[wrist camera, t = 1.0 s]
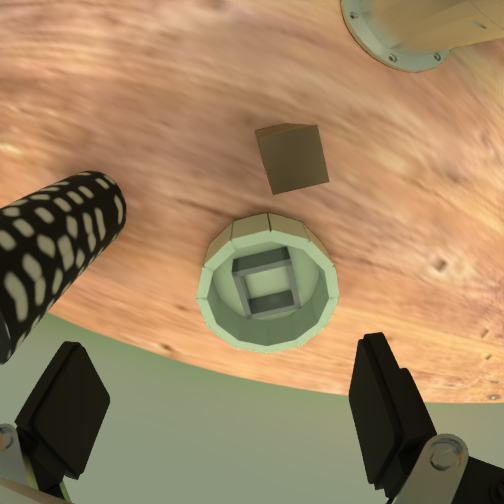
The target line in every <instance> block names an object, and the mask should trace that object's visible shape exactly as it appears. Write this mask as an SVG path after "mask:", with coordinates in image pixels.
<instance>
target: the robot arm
mask: <svg viewBox="0 0 504 504" xmlns="http://www.w3.org/2000/svg"><path fill="white" fill-rule="evenodd" d="M341 9H342V14H343V17H344V20H345V23H346V25H347V27H348V29H349V31H350V33H351V34H352V35H353V37H354V38H355V40H356V41H357V42H358V43H359V44H360V46H361V47H362V48H363V49H364V50H365V51H366V52H368V53H369V54H370V55H371V56H372V57H374V58H375V59H376V60H378V61H380V62H381V63H383V64H385V65H387V66H389V67H392V68H394V69H397V70H401V71H405V72H420V71H426V70H429V69H433V68H435V67H436V66H438V65H440V64H441V63H442V62H443V61H444V60H445V59H446V57H447V55H448V54H449V52H450V49H452V48H456V47H461V46H465V45H470V44H474V43H479V42H484V41H490V40H495V39H501V38H504V0H341ZM350 16H352V17H353V18H354V19H352V18H351V17H350ZM389 57H390V58H391V61H390V59H389ZM349 402H350V406H351V410H352V415H353V419H354V422H355V427H356V431H357V435H358V439H359V443H360V447H361V451H362V456H363V461H364V465H365V470H366V474H367V479H368V482H369V483H370V484H373V483H374V486H375V490H379V489H384V491H385V496H386V497H388V499H387V501H386V503H385V504H504V469H502V468H500V467H497V466H494V465H491V464H489V463H486V462H483V461H481V460H478V459H475V458H473V457H470V456H469V454H468V448H467V446H466V444H465V442H463V440H462V439H460V438H459V437H457V436H455V435H452V434H439V435H437V432H436V430H435V428H434V425H433V423H432V421H431V418H430V416H429V413H428V411H427V409H426V406H425V404H424V402H423V400H422V397H421V395H420V393H419V391H418V389H417V386H416V384H415V382H414V380H413V378H412V376H411V373H410V372H409V370H408V369H407V368H399V366H398V364H397V362H396V359H395V357H394V355H393V353H392V351H391V349H390V346H389V344H388V342H387V340H386V338H385V336H384V334H383V333H382V332H378V333H371V334H365V335H364V338H363V339H360V340H359V341H358V346H357V352H356V358H355V363H354V369H353V374H352V379H351V384H350V389H349ZM109 404H110V397H109V394H108V392H107V390H106V388H105V387H104V385H103V383H102V381H101V379H100V377H99V375H98V374H97V372H96V370H95V368H94V366H93V364H92V362H91V360H90V358H89V356H88V354H87V352H86V349H85V348H84V347H82V346H81V344H80V343H79V342H69V341H65V342H64V343H63V344H62V345H61V347H60V348H59V349H58V351H57V353H56V354H55V356H54V357H53V359H52V360H51V362H50V363H49V365H48V366H47V368H46V369H45V371H44V373H43V374H42V376H41V377H40V379H39V381H38V382H37V384H36V386H35V388H34V389H33V390H32V392H31V394H30V395H29V397H28V399H27V401H26V402H25V404H24V406H23V407H22V409H21V411H20V413H19V415H18V416H17V418H16V420H15V423H16V425H17V428H16V429H15V428H14V427H13V426H12V425H10V424H0V504H74V503H72V502H71V499H70V497H69V494H68V492H67V489H66V487H65V484H64V482H63V477H64V475H65V476H66V477H69V478H72V479H76V480H78V478H79V476H80V474H82V473H83V472H84V470H85V467H86V464H87V461H88V459H89V456H90V453H91V450H92V448H93V445H94V442H95V440H96V437H97V434H98V432H99V429H100V427H101V424H102V422H103V419H104V416H105V414H106V411H107V409H108V406H109Z"/></svg>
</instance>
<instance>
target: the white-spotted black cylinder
mask: <svg viewBox="0 0 504 504" xmlns="http://www.w3.org/2000/svg"><path fill="white" fill-rule="evenodd" d="M125 220H126V205H125V201H124V197H123V195H122V193H121V190H120V189H119V187H118V186H117V185H116V183H115V182H114V181H113V180H112V179H111V178H109V177H108V176H106V175H105V174H102V173H100V172H96V171H85V172H81V173H78V174H76V175H73V176H71V177H68V178H66V179H64V180H61V181H59V182H56V183H54V184H52V185H49V186H47V187H45V188H43V189H40V190H38V191H36V192H34V193H32V194H29V195H27V196H25V197H23V198H21V199H19V200H17V201H15V202H13V203H11V204H9V205H7V206H5V207H3V208H1V209H0V365H3V364H4V363H6V362H7V361H8V360H9V359H10V357H11V356H12V355H13V353H14V352H15V351H16V349H17V348H18V347H19V346H20V344H21V343H22V342H23V341H24V339H25V338H26V337H27V336H28V334H29V333H30V332H31V331H32V329H33V328H34V327H35V326H36V324H37V323H38V322H39V321H40V320H41V318H42V317H43V316H44V315H45V314H46V313H47V311H48V310H49V309H50V308H51V307H52V306H53V304H54V303H55V302H56V301H57V300H58V299H59V298H60V296H61V295H62V294H63V293H64V292H65V291H66V290H67V289H68V288H69V286H70V285H71V284H72V283H73V282H74V281H75V280H76V279H77V278H78V277H79V276H80V274H81V273H82V272H83V271H84V270H85V269H86V268H87V267H88V266H89V265H90V264H91V263H92V262H93V261H94V260H95V259H96V258H97V257H98V256H99V255H100V254H101V253H102V251H103V250H104V249H105V248H106V247H107V246H108V245H109V244H110V243H111V242H112V241H113V240H114V239H115V238H116V237H117V236H118V235H119V234H120V232H121V231H122V229H123V227H124V223H125Z"/></svg>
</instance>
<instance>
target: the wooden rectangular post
mask: <svg viewBox="0 0 504 504" xmlns="http://www.w3.org/2000/svg"><path fill="white" fill-rule="evenodd" d="M255 134H256V138H257V142H258V145H259V149H260V153H261V157H262V161H263V164H264V167H265V170H266V173H267V177H268V180H269V183H270V186H271V190H272V193H273V195H275V194H279V193H284V192H288V191H292V190H296V189H300V188H305V187H309V186H313V185H318V184H322V183H327V182H329V178H328V173H327V168H326V163H325V159H324V154H323V149H322V145H321V140H320V136H319V132H318V128H317V125H305V124H290V123H285V124H281V125H276V126H272V127H268V128H264V129H260V130H256V131H255Z"/></svg>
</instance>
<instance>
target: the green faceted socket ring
mask: <svg viewBox="0 0 504 504" xmlns="http://www.w3.org/2000/svg"><path fill="white" fill-rule="evenodd" d="M212 274H213V275H212ZM338 300H339V290H338V283H337V277H336V270H335V266H334V264H333V262H332V260H331V258H330V256H329V255H328V253H327V251H326V249H325V247H324V245H323V244H322V243H321V242H320V241H319V240H318V239H317V237H316V236H315V235H314V234H313V233H312V232H311V231H310V230H309V229H308V228H307V227H306V226H305V225H304V224H303V223H301V221H298V220H294V219H290V218H287V217H283V216H279V215H276V214H272V213H268V215H267V213H263V214H259V215H255V216H251V217H247V218H243V219H239V220H236V221H234V223H233V222H232V223H231V224H230V225H229V226H228V227H227V228H226V229H225V230H224V231H223V232H221V233H220V234H219V235H218V236H217V237H216V238H215V239H214V240H213V241H212V242H211V243H210V245H209V247H208V251H207V254H206V257H205V261H204V264H203V267H202V272H201V276H200V281H199V285H198V290H197V294H196V301H197V303H198V306H199V308H200V311H201V313H202V315H203V318H204V320H205V323H206V325H207V327H208V328H209V329H210V330H211V331H213V332H214V333H215V334H217V335H218V336H219V337H221V338H222V339H223V340H225V341H226V342H227V343H229V344H230V345H231V346H234V345H235V346H234V347H235V348H240V349H245V350H250V351H255V352H260V353H265V354H266V351H267V353H272V352H277V351H282V350H286V349H291V348H295V347H299V346H298V345H300V346H301V345H302V344H304V343H305V342H306V341H308V340H309V339H310V338H312V337H313V336H315V335H316V334H317V333H319V332H320V331H321V330H322V329H324V328H325V326H327V324H328V322H329V320H330V317H331V315H332V313H333V311H334V309H335V307H336V305H337V302H338Z"/></svg>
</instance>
